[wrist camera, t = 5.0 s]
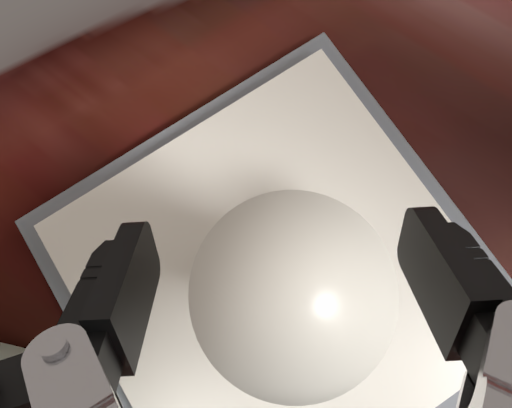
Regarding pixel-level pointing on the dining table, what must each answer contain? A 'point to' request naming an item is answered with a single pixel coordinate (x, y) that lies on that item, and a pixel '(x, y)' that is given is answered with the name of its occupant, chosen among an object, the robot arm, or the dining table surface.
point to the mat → (205, 112)
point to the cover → (272, 257)
